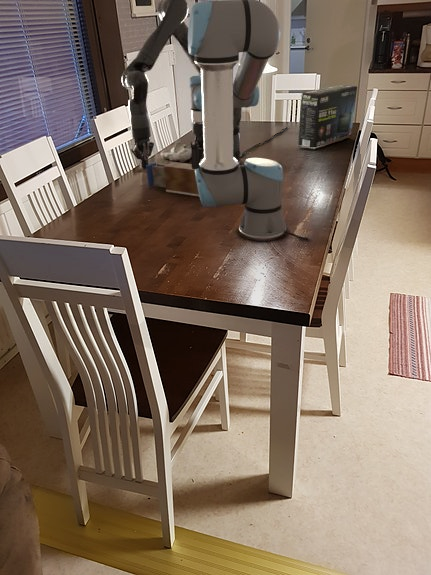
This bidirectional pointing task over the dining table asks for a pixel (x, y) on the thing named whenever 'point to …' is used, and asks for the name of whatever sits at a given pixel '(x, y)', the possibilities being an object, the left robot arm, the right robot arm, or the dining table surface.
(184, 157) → the fossil
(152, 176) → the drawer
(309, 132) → the router box
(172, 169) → the brown rectangular box
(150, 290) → the dining table surface
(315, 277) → the dining table surface
